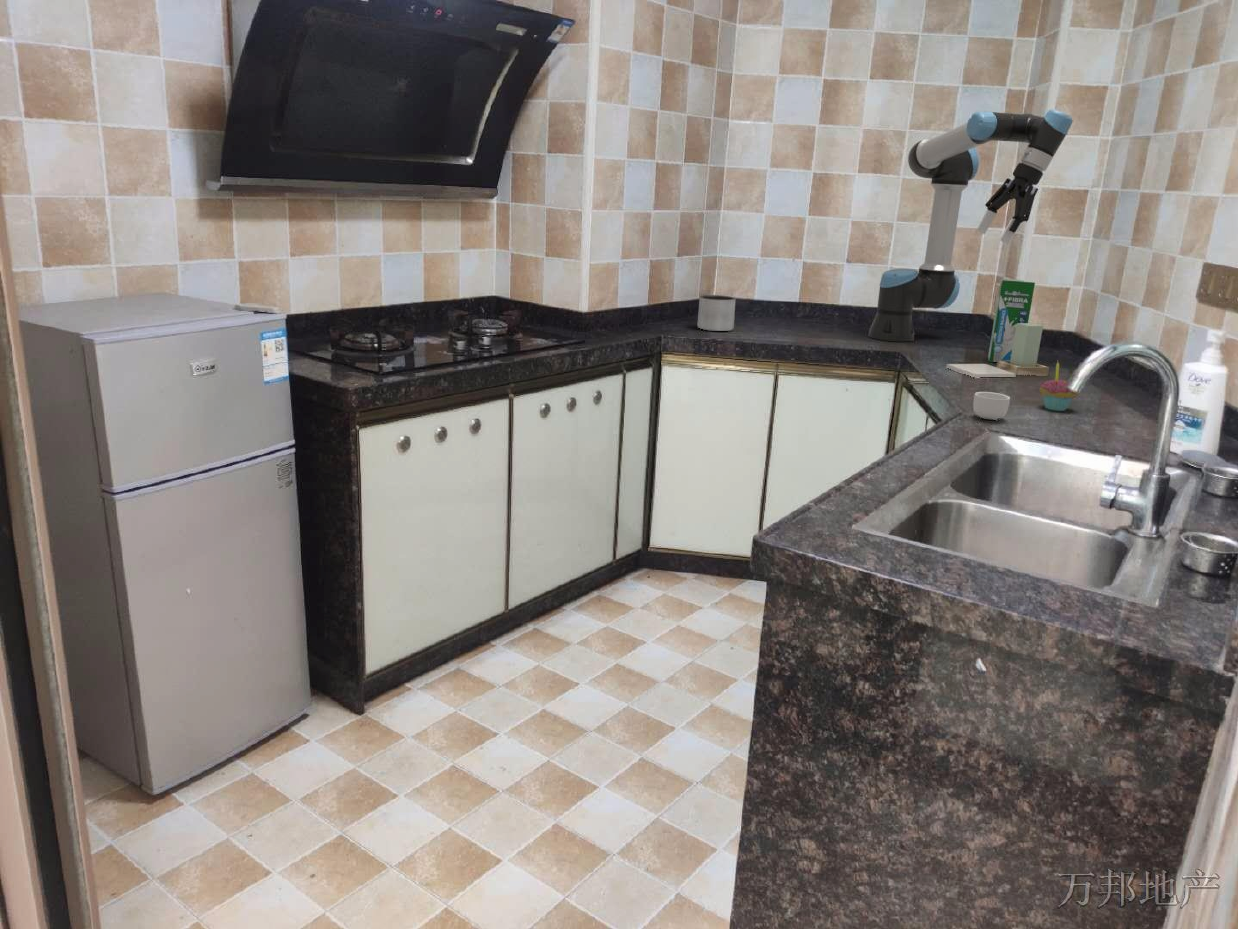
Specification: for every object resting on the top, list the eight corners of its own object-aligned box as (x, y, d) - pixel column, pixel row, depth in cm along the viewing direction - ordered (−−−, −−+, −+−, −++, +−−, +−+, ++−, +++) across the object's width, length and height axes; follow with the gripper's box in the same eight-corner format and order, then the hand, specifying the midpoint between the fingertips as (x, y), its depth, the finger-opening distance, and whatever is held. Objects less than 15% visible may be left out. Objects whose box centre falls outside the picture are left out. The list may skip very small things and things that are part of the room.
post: (1008, 370, 272) (1016, 323, 268) (1023, 370, 274) (1031, 323, 269) (1019, 374, 268) (1028, 325, 264) (1034, 374, 269) (1043, 326, 265)
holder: (995, 369, 274) (997, 360, 273) (1024, 368, 277) (1026, 360, 276) (1018, 376, 265) (1019, 367, 264) (1047, 375, 267) (1049, 367, 267)
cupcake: (1056, 413, 222) (1065, 364, 218) (1028, 405, 229) (1037, 357, 226) (1082, 411, 225) (1091, 362, 222) (1053, 403, 233) (1062, 356, 229)
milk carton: (1018, 360, 290) (1032, 279, 282) (1020, 365, 281) (1035, 282, 274) (987, 357, 292) (1001, 277, 285) (988, 362, 284) (1002, 279, 277)
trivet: (946, 368, 272) (946, 364, 271) (984, 367, 275) (985, 363, 275) (975, 378, 259) (976, 374, 259) (1015, 377, 262) (1015, 373, 262)
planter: (726, 333, 314) (729, 300, 311) (691, 329, 319) (694, 297, 316) (738, 329, 325) (740, 297, 322) (704, 325, 330) (706, 293, 327)
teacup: (1013, 422, 211) (1017, 399, 210) (981, 422, 210) (985, 399, 209) (990, 412, 221) (994, 389, 219) (960, 411, 220) (963, 389, 218)
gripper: (999, 155, 273) (961, 223, 280) (1045, 167, 250) (1003, 241, 258) (1019, 165, 275) (981, 233, 282) (1067, 178, 252) (1024, 251, 260)
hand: (991, 237), depth 270 cm, fingers open, 13 cm apart
